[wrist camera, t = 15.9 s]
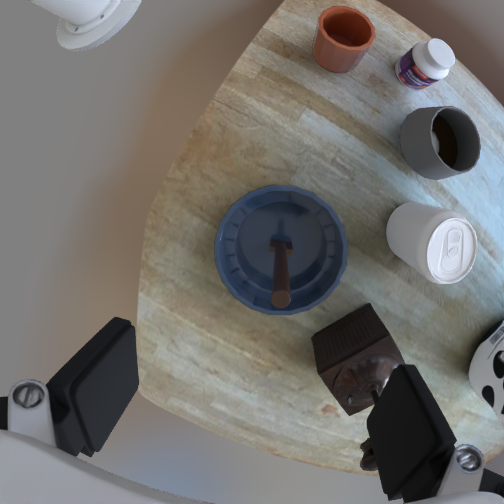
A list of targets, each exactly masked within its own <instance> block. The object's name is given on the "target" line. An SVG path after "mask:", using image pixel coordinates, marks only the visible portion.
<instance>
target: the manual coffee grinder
mask: <svg viewBox="0 0 504 504" xmlns="http://www.w3.org/2000/svg"><path fill="white" fill-rule="evenodd" d="M311 340H312V342H313V348H314V354H315V361H316V367H317V372H318V374H319V375H320V377H321V379H322V380H323V382H324V383H325V385H326V386H327V388H328V389H329V390H330V392H331V393H332V395H333V396H334V397H335V399H336V400H337V401H338V403H339V404H340V405H341V407H342V408H343V409H344V410H345V411H346V413H347V414H348V415H349V416H351V415H353V414H355V413H358V412H360V411H362V410H364V409H366V408H368V407H370V406H372V405H374V404H376V402H377V400H378V398H379V397H380V395H381V393H382V391H383V389H384V387H385V385H386V383H387V381H388V379H389V377H390V375H391V373H392V371H393V369H394V368H397V367H398V366H399V365H400V364H405V362H404V360H403V358H402V355H401V353H400V351H399V349H398V347H397V345H396V344H395V342H394V340H393V338H392V337H391V335H390V333H389V331H388V330H387V329H386V327H385V326H384V324H383V323H382V321H381V320H380V318H379V317H378V315H377V314H376V312H375V311H374V309H373V307H372V306H371V304H370V303H368V304H366V305H364V306H362V307H360V308H358V309H357V310H355V311H353V312H352V313H350V314H348V315H347V316H345V317H343V318H342V319H340V320H338V321H336V322H335V323H333V324H331V325H329V326H328V327H326V328H324V329H323V330H321V331H319V332H317V333H316V334H315V335H314V336H313V337H312V338H311ZM360 449H362V451H363V452H364V455H363V458H362V460H361V462H360V467H361V468H362V469H363V470H366V471H375V470H378V467H377V463H376V459H375V455H374V451H373V448H372V444H371V440H370V438H367V440H366V441H365V442H363V443H362V444H361V445H360Z"/></svg>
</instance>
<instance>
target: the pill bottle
mask: <svg viewBox="0 0 504 504" xmlns="http://www.w3.org/2000/svg"><path fill="white" fill-rule="evenodd" d="M454 63H455V56H454V53H453V52H452V50H451V48H450V47H449V46H448V45H447V44H446V43H445V42H443V41H442V40H439V39H435V38H434V39H431V40H429V41H428V42H419V43H417V44H416V45H415V46H414V47H412V48H411V49H410V50H409V51H408V52H407V53H406V54H405V55H404V56H403V57H402V58H400V59H399V60H398V62H397V63H396V66H395V71H396V75H397V77H398V79H399V81H400V82H401V83H402V84H403V85H404V86H405V87H407V88H408V89H411V90H414V91H419V90H422V89H424V88H426V87H428V86H430V85H431V84H433V83H435V82H437V81H439V80H441V79H443V78H444V77H445V76H447V74H448V72H449V68H450V67H452V66H453V65H454Z"/></svg>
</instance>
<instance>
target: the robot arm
mask: <svg viewBox="0 0 504 504" xmlns="http://www.w3.org/2000/svg"><path fill="white" fill-rule="evenodd" d="M29 1H31V2H33V3H35V4H37V5H39V6H41V7H43V8H44V9H46V10H48V11H50V12H52V13H54V14H56V15H57V16H59V17H61V18H63V19H65V28H66V30H67V31H68V32H70V33H72V34H75V35H80V34H84V33H87V32H90V31H92V30H93V29H95V28H97V27H98V26H100V25H101V24H102V23H104V22H105V21H106V20H107V19H108V18H109V17H110V16H111V15H112V14H113V13H114V12H115V10H116V9H117V8H118V6H119V5H120V3H121V1H122V0H29ZM138 386H139V376H138V365H137V352H136V336H135V327H134V326H132V325H131V322H130V321H129V320H125V319H122V318H119V317H114V318H113V319H112V320H111V321H109V322H108V323H107V324H106V325H105V326H104V327H103V328H102V329H101V330H100V331H99V332H98V333H97V334H96V335H95V336H94V337H93V338H92V339H91V340H90V341H88V342H87V343H86V344H85V346H83V347H82V348H81V349H80V350H79V351H78V352H77V353H76V354H75V355H74V356H73V357H72V358H71V359H70V360H69V361H68V362H67V363H66V364H65V365H64V366H63V367H62V368H61V369H60V370H59V371H58V372H57V373H56V374H55V375H54V376H53V377H52V378H51V379H50V381H49V382H48V383H47V384H46V385H44V384H43V383H41V382H40V381H37V380H34V379H25V380H21V381H19V382H17V383H15V384H14V385H13V386H12V387H11V389H10V391H9V395H8V397H0V504H214V503H208V502H204V501H199V500H195V499H191V498H186V497H182V496H178V495H175V494H171V493H168V492H164V491H160V490H158V489H154V488H151V487H148V486H145V485H142V484H139V483H136V482H133V481H131V480H128V479H126V478H123V477H120V476H118V475H115V474H113V473H110V472H108V471H105V470H103V469H101V468H98V467H96V466H94V465H91V464H89V463H87V462H85V461H83V460H81V459H79V458H77V457H76V456H77V455H78V454H79V452H81V453H83V454H85V455H87V456H89V457H92V455H93V454H94V452H95V451H96V452H99V451H100V450H101V448H102V446H103V445H104V443H105V442H106V440H107V438H108V437H109V435H110V433H111V432H112V430H113V428H114V427H115V425H116V423H117V422H118V420H119V418H120V417H121V415H122V414H123V412H124V410H125V408H126V407H127V406H128V404H129V402H130V401H131V399H132V397H133V396H134V394H135V392H136V391H137V389H138ZM367 429H368V432H369V436H370V440H371V444H372V448H373V451H374V455H375V459H376V463H377V467H378V471H379V475H380V480H381V484H382V488H383V492H384V493H385V494H387V496H388V500H389V501H390V500H396V499H401V498H403V500H404V503H403V504H504V477H503V476H501V475H498V474H496V473H494V472H492V471H490V470H487V469H485V468H484V465H485V459H484V456H483V454H482V453H481V451H480V450H479V449H478V448H476V447H475V446H473V445H469V444H462V445H459V446H458V447H456V448H455V446H454V444H455V442H456V441H457V440H456V438H455V436H454V434H453V432H452V430H451V428H450V426H449V424H448V422H447V420H446V419H445V417H444V415H443V413H442V411H441V409H440V408H439V406H438V404H437V402H436V400H435V399H434V397H433V395H432V393H431V392H430V390H429V388H428V387H427V385H426V383H425V381H424V380H423V378H422V376H421V375H420V373H419V371H418V370H417V368H416V366H415V365H409V364H400V365H399V366H398V367H397V368H394V369H393V371H392V373H391V375H390V377H389V379H388V381H387V383H386V385H385V387H384V389H383V391H382V393H381V395H380V397H379V398H378V400H377V402H376V404H375V406H374V408H373V409H372V411H371V413H370V415H369V416H368V419H367Z"/></svg>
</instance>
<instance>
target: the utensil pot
mask: <svg viewBox="0 0 504 504" xmlns="http://www.w3.org/2000/svg"><path fill="white" fill-rule="evenodd" d="M375 37H376V36H375V28H374V26H373V24H372V23H371V21H370V20H369V18H368V17H366V16H365V15H364V14H362V13H361V12H359V11H358V10H356V9H353V8H350V7H346V6H333V7H330V8H328V9H326V10H324V11H323V12H322V14H321V15H320V17H319V18H318V22H317V27H316V31H315V35H314V40H313V47H312V52H313V56H314V58H315V60H316V61H317V62H318V63H319V64H320V65H321V66H322V67H323V68H325V69H327V70H329V71H332V72H336V73H345V72H349V71H351V70H353V69H354V68H355V67H356V66H357V65H358V64H359V62H360V61H361V59H362V58H363V56H364V55H365V54H366V52H367V51H368V49H369V48H370V46H371V45H372V43H373V41H374V39H375Z"/></svg>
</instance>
